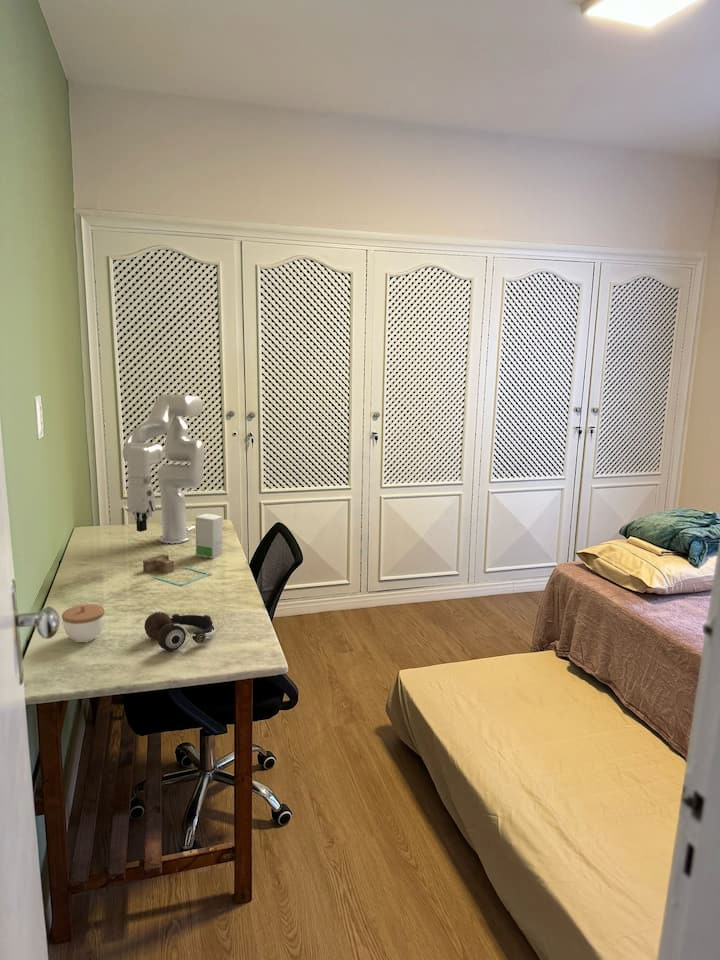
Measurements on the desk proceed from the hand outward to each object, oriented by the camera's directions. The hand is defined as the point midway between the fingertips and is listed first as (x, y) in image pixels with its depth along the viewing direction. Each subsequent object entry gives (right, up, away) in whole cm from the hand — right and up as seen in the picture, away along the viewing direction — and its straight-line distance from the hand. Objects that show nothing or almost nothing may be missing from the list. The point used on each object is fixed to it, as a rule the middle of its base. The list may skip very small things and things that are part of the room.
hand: (141, 530), depth 234 cm
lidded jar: (+3, -26, -56) cm, 61 cm away
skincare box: (+21, -11, +16) cm, 28 cm away
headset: (+30, -26, -54) cm, 67 cm away
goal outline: (+16, -15, -7) cm, 23 cm away
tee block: (+8, -14, -2) cm, 16 cm away
